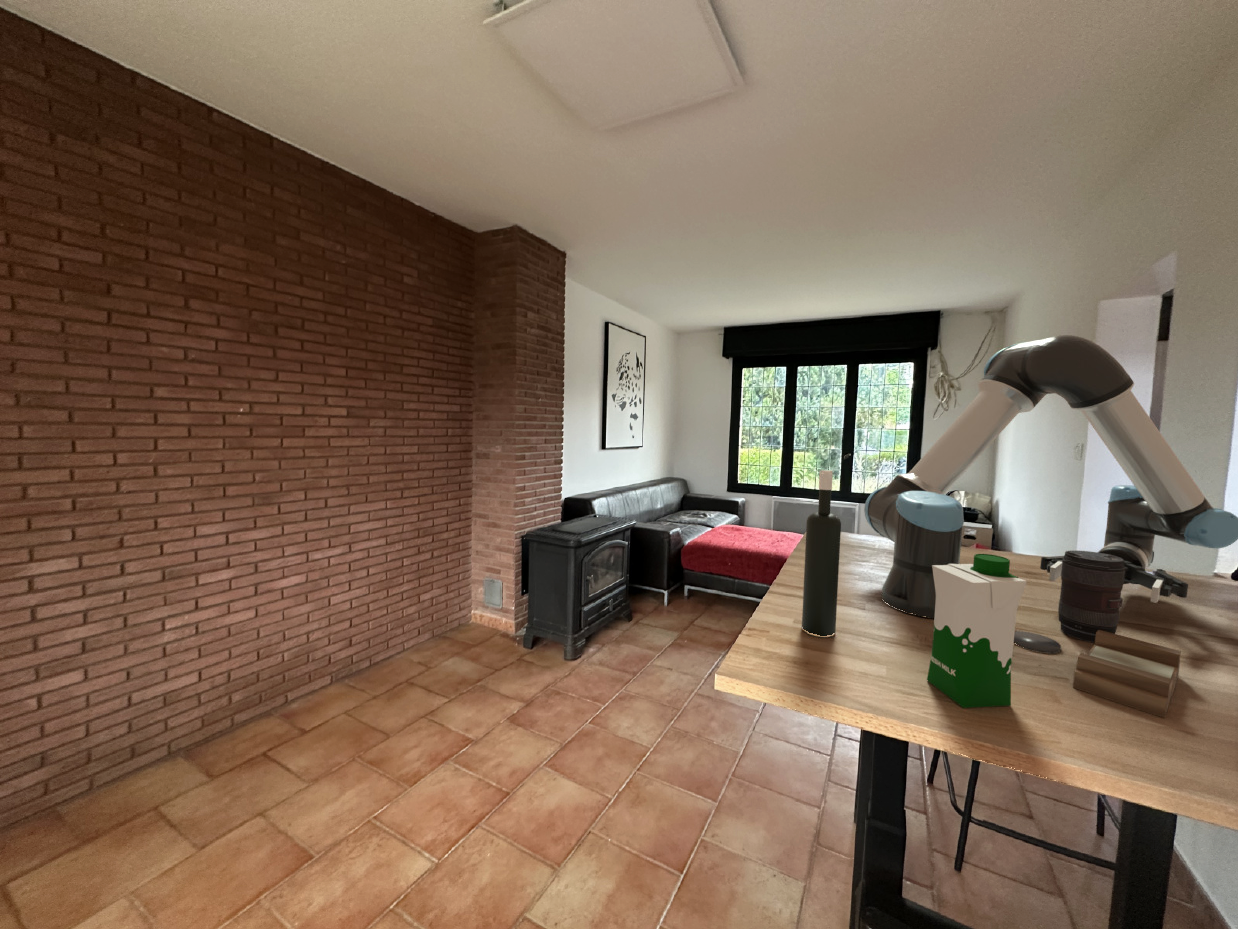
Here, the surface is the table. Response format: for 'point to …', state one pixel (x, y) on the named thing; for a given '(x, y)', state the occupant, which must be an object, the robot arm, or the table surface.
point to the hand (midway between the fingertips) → (1100, 584)
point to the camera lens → (1090, 593)
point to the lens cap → (1036, 642)
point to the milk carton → (975, 630)
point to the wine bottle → (821, 564)
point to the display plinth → (1129, 672)
